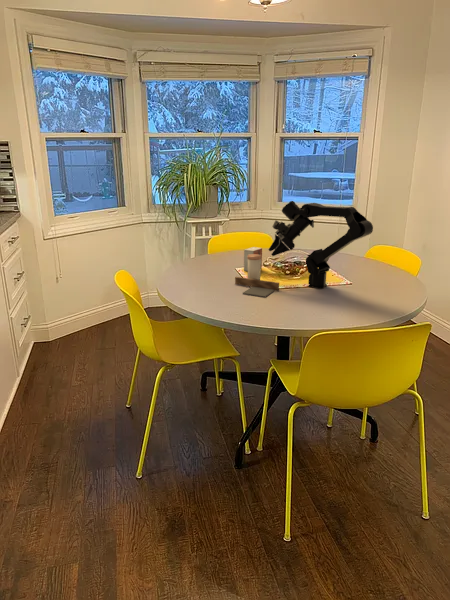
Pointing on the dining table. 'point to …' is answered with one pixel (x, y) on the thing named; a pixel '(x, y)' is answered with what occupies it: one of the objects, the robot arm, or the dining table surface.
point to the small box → (251, 251)
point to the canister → (254, 266)
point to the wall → (257, 283)
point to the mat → (258, 291)
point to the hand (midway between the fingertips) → (270, 252)
